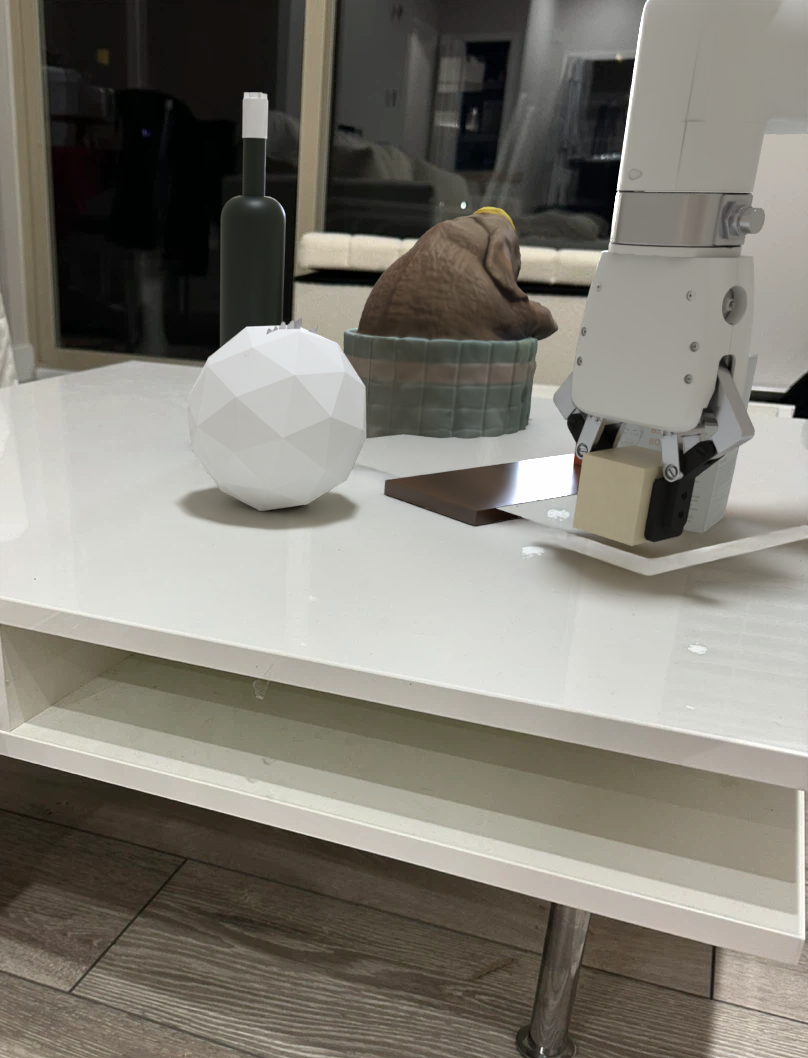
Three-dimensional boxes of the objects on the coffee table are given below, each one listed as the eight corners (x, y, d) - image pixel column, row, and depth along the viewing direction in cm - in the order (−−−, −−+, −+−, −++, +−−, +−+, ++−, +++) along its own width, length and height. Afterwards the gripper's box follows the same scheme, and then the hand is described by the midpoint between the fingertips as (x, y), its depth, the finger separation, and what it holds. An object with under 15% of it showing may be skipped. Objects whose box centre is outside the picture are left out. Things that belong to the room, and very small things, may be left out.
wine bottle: (262, 442, 106) (270, 97, 93) (288, 454, 101) (301, 92, 88) (209, 446, 103) (210, 93, 90) (234, 458, 99) (239, 88, 86)
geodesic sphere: (261, 399, 93) (212, 263, 81) (413, 417, 88) (384, 273, 76) (192, 531, 88) (128, 406, 76) (348, 559, 82) (307, 429, 70)
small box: (722, 530, 81) (762, 353, 75) (699, 549, 76) (740, 361, 71) (618, 512, 85) (648, 342, 79) (591, 528, 80) (621, 349, 75)
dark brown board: (592, 463, 101) (594, 450, 101) (689, 488, 93) (692, 474, 93) (383, 493, 88) (384, 479, 88) (474, 526, 80) (476, 510, 80)
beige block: (621, 516, 74) (633, 444, 71) (681, 534, 70) (696, 459, 68) (572, 527, 71) (582, 453, 69) (631, 546, 67) (645, 468, 65)
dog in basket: (540, 413, 126) (569, 209, 116) (554, 456, 103) (591, 209, 94) (351, 402, 129) (363, 203, 119) (325, 442, 107) (338, 201, 97)
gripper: (851, 232, 58) (776, 551, 66) (606, 223, 70) (568, 491, 79) (769, 234, 54) (700, 572, 62) (526, 223, 67) (495, 506, 75)
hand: (627, 524), depth 70 cm, fingers closed on beige block, 5 cm apart
